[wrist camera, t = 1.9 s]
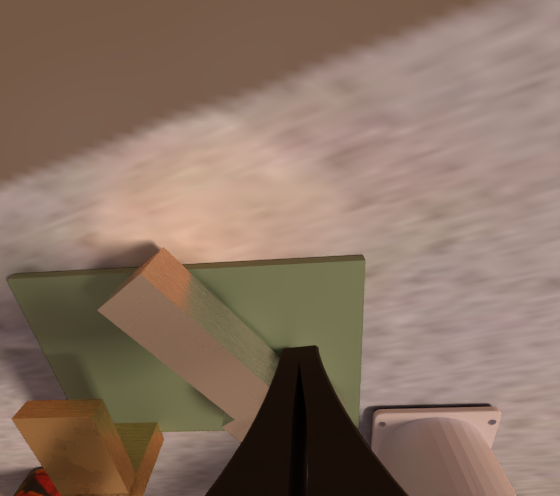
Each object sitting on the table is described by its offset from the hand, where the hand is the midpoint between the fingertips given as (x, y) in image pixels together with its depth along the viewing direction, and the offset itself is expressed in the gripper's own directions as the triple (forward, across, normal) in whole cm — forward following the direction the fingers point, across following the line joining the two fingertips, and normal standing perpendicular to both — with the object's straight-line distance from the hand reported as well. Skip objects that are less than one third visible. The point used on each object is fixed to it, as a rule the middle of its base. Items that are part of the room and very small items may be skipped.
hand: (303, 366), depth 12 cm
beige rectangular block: (+5, +4, +3) cm, 7 cm away
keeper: (+5, +13, +6) cm, 15 cm away
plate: (+6, +6, +4) cm, 9 cm away
